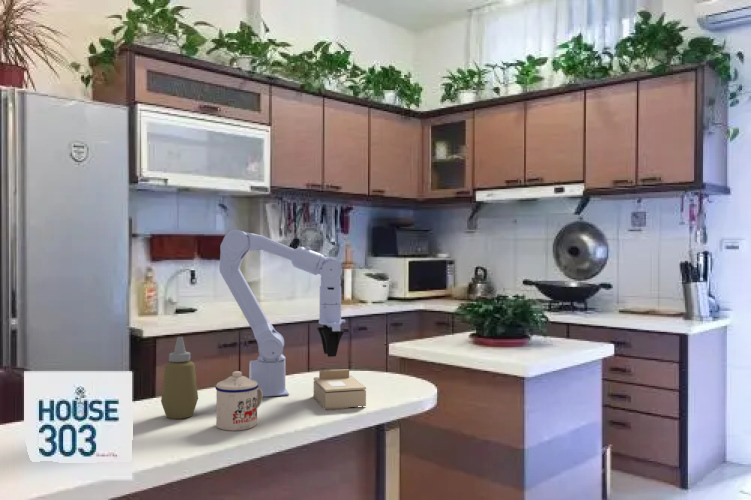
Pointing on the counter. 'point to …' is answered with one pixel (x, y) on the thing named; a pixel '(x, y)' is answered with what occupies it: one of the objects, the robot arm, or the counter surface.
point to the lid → (337, 381)
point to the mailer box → (339, 398)
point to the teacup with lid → (237, 402)
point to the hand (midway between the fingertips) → (330, 354)
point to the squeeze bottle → (179, 384)
